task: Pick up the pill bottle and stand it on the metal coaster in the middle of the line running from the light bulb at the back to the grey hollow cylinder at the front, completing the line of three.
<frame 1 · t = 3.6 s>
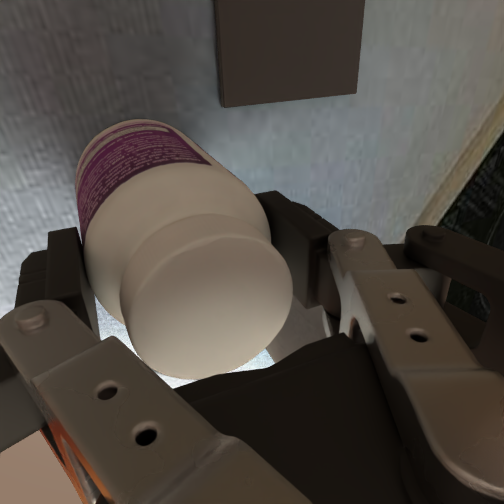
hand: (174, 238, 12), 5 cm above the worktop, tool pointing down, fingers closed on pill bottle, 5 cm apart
metal coaster: (291, 13, 16), on the worktop
grey hollow cylinder: (285, 308, 24), on the worktop
pill bottle: (143, 181, 17), on the worktop, touching gripper
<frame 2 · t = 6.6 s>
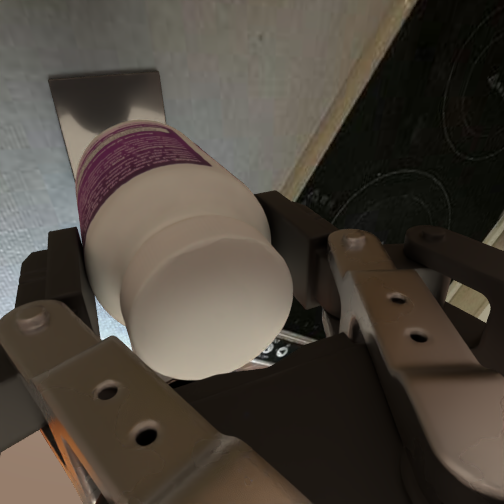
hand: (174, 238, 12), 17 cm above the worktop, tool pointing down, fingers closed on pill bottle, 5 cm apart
metal coaster: (116, 128, 26), on the worktop
pill bottle: (143, 182, 17), point 11 cm above the worktop, touching gripper
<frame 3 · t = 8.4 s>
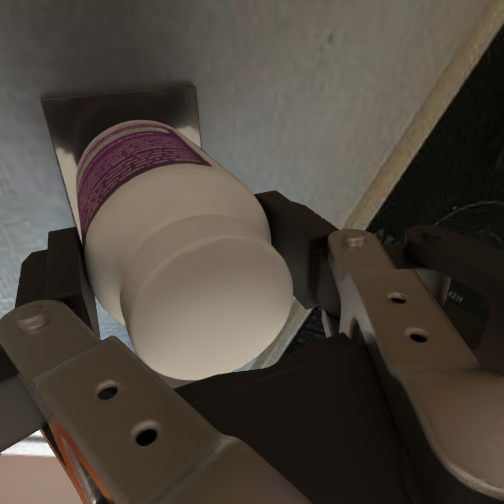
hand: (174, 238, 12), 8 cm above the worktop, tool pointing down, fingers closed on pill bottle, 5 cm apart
metal coaster: (135, 163, 19), on the worktop
pill bottle: (143, 182, 17), point 3 cm above the worktop, touching gripper
when the fingers open (6 cm above the worktop, at t = 9.6 s): pill bottle stays where it is, resting on metal coaster.
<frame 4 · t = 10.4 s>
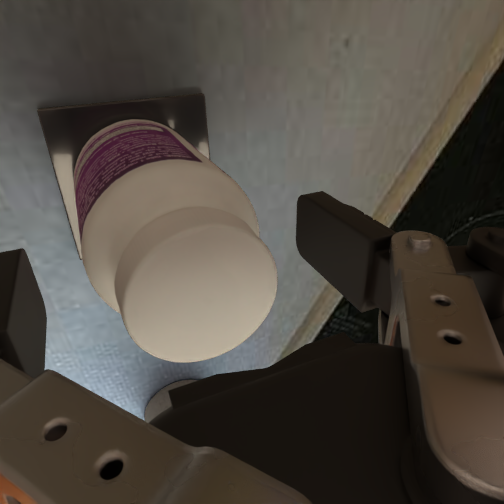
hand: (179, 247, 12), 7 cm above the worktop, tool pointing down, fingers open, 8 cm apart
metal coaster: (138, 177, 18), on the worktop
grey hollow cylinder: (179, 403, 25), on the worktop
pill bottle: (139, 179, 18), resting on metal coaster
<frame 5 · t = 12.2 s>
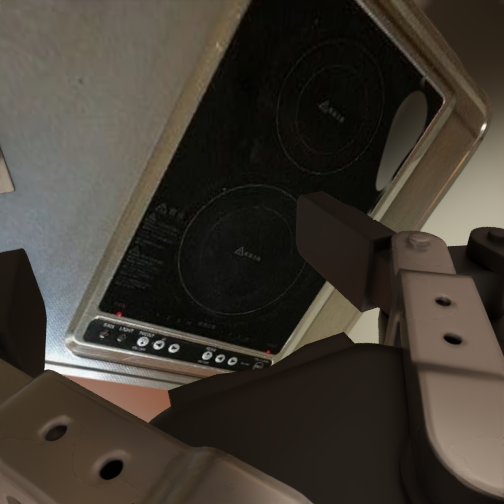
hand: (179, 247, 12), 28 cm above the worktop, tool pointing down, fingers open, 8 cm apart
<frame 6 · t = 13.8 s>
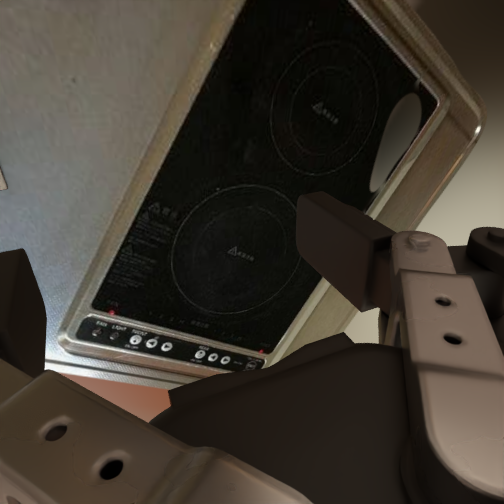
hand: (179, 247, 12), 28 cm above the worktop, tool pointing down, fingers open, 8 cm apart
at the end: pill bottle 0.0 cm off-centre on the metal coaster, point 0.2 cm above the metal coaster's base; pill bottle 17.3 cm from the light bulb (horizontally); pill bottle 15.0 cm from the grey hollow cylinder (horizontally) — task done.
